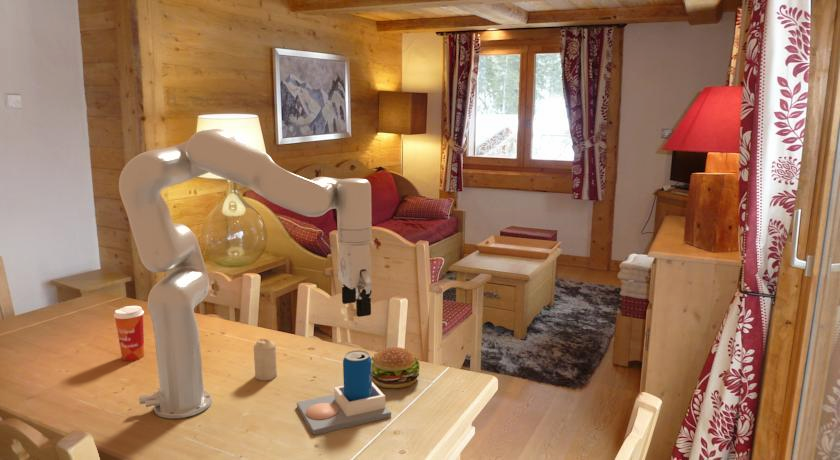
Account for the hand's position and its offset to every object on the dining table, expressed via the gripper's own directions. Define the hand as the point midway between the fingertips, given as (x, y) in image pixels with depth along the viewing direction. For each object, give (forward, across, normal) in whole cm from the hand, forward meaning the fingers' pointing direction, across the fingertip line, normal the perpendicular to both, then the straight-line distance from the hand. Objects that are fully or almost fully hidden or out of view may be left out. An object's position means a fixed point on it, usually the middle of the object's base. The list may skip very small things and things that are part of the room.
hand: (356, 309), depth 140 cm
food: (+24, -11, +13) cm, 30 cm away
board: (+24, 0, -4) cm, 24 cm away
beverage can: (+23, 0, 0) cm, 23 cm away
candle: (+25, -27, -16) cm, 40 cm away
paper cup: (+25, -56, -47) cm, 77 cm away
